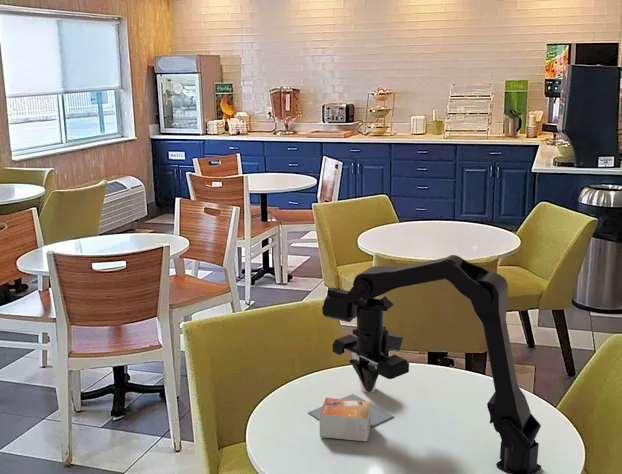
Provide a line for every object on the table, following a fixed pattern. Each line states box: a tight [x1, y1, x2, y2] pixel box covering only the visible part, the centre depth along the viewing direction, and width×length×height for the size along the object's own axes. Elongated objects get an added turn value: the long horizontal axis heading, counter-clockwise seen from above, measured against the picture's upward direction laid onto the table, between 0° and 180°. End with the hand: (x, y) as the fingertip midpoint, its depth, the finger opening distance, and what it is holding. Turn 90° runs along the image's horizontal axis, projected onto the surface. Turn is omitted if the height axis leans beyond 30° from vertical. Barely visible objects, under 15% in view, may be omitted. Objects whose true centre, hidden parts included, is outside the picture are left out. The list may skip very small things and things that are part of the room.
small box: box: [319, 397, 373, 442], centre depth 152 cm, size 8×6×10 cm
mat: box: [307, 393, 395, 429], centre depth 160 cm, size 14×14×1 cm
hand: (369, 391), depth 153 cm, fingers closed
